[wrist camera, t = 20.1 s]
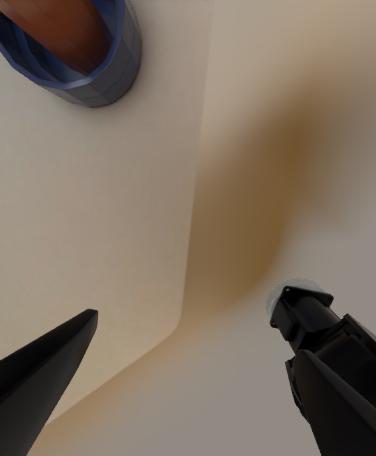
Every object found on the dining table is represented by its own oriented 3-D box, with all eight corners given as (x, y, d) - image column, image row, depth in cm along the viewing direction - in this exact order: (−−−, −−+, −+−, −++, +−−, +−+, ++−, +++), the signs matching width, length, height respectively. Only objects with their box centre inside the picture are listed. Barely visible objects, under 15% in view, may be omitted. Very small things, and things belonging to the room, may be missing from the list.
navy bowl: (149, -11, 15) (132, -82, 11) (135, 118, 18) (116, 102, 14) (31, -39, 15) (-34, -123, 11) (34, 96, 18) (-17, 72, 13)
